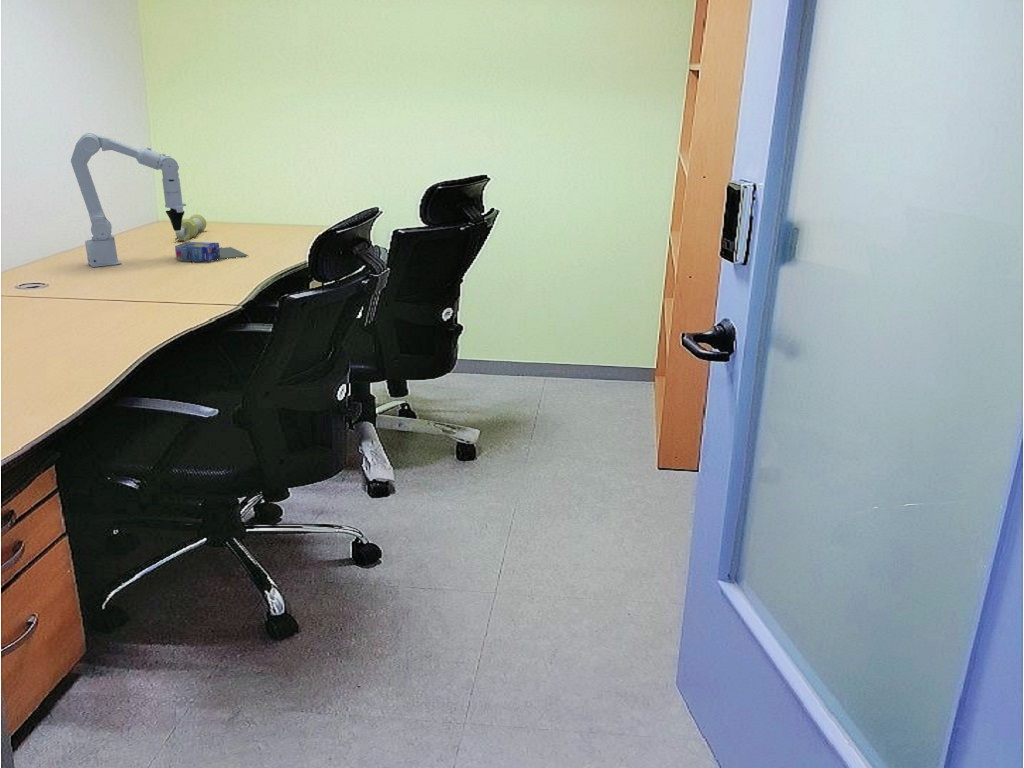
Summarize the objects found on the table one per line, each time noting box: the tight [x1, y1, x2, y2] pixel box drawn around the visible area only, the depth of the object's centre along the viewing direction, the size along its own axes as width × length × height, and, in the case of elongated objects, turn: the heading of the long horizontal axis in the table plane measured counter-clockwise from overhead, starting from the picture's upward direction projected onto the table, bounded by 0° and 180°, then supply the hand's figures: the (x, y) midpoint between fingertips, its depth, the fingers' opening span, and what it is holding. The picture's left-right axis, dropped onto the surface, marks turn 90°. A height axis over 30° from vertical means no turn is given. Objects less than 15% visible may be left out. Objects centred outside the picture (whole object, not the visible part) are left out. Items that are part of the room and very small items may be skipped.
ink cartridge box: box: [174, 241, 223, 262], centre depth 300 cm, size 10×6×14 cm
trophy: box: [174, 214, 207, 244], centre depth 344 cm, size 8×8×30 cm
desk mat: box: [191, 246, 249, 263], centre depth 309 cm, size 20×20×1 cm
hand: (177, 230), depth 300 cm, fingers closed
